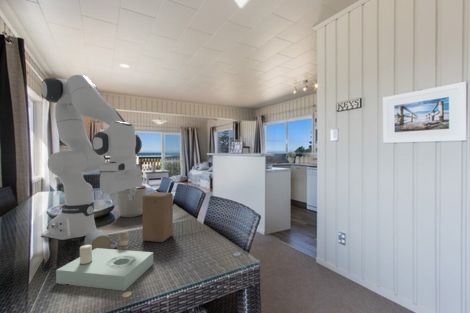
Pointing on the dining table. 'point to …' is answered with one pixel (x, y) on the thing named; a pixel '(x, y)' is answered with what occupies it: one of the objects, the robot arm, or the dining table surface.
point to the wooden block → (157, 216)
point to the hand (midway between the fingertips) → (124, 202)
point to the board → (105, 268)
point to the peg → (123, 240)
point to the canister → (131, 202)
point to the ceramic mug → (99, 240)
